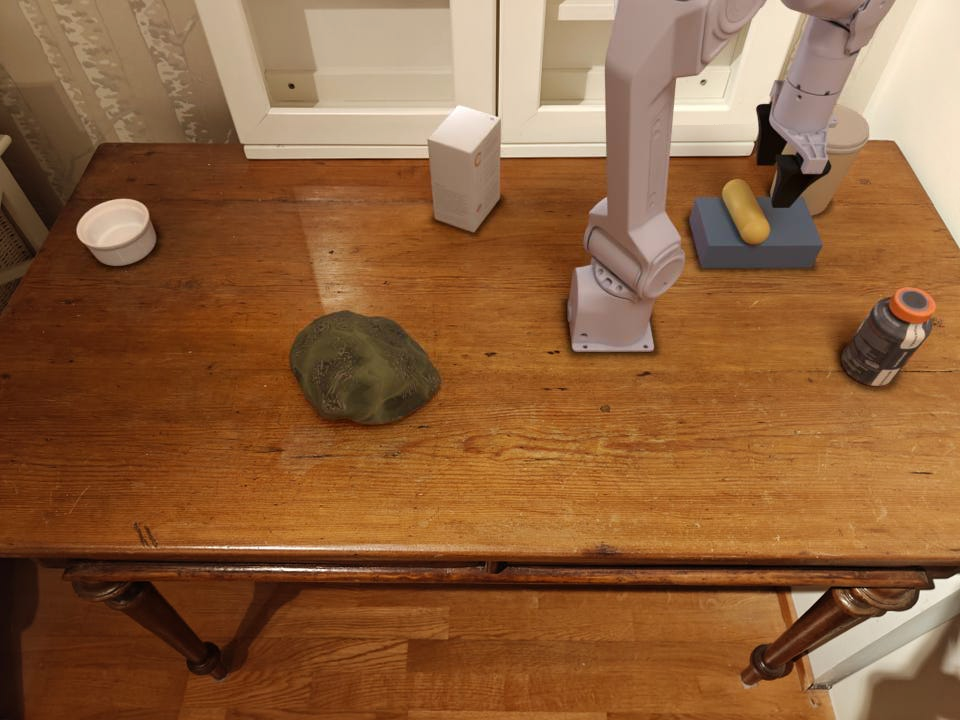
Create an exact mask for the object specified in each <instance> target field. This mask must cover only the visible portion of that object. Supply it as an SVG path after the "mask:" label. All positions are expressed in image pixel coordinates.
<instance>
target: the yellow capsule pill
mask: <svg viewBox="0 0 960 720" xmlns="http://www.w3.org/2000/svg"><path fill="white" fill-rule="evenodd" d="M721 197H723V200H724V202H725V204H726V206H727V208H728V210H729V212H730V214H731V216H732V219H733V221H734V223H735V225H736V227H737V229H738V231H739V233H740V235H741V237H742V239H743V240H744V241H745V242H746V243H748V244H752V245H756V244H760V243H762V242H764V241H765V240H766V239H767V238H768V236H769V233H770V226H769V223H768V221H767V219H766V217H765V216H764V214H763V212H762V210H761V208H760V206H759V204H758V202H757V200H756V198H755V197H756V196H755V194H754V192H753V191H752V189H751V187H750V185H749V184H748V182H746V181H745V180H743V179H741V178H735V179H731V180H729V181H728V182H726V184H725V185H724V186H723V188H722V191H721Z"/></svg>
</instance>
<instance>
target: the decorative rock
mask: <svg viewBox="0 0 960 720" xmlns="http://www.w3.org/2000/svg"><path fill="white" fill-rule="evenodd" d="M288 359H289V360H288V361H289V367H290V370H291V373H292V374H293V377H294V378H295V380H296V382H297V384H298V386H299V388H300V391H302V393H303V395H304V398H305V399H306V400H307V402H308V403H309V404H310V405H311V406H313V407H314V409H315V410H316V411H317V413H318V415H319V416H320V417H321V418H323V419H325V420H329V421H340V420H350V421H352V422H355V423H357V424H362V425H370V426H376V425H377V426H378V425H384V424H391V423H395V422H398V421H400V420H403V419H404V418H406V417H408V416H409V415H411V414H412V413H414V412H416V411H417V410H419V409H420V408H422V407H423V406H424V405H425V404H426V403H428V402H429V401H430V399H432V398H433V396H434V395H435V394H436V393H437V392H438V391H439V390H440V387H441V384H442V377H441V375H440V373H439V371H438V369H437V368H436V367H435V365H434V364H433V363H432V361H431V360H430V358H429V356H428V353H427V352H426V350H424V348H423V347H422V346H421V345H420V344H419V342H417V340H415V339H414V338H413V337H412V336H411V335H410V334H409V333H407V332H406V330H404V328H403V326H401V324H399V323H398V322H397V321H395V320H393V319H390V318H388V317H384V316H380V315H379V316H377V315H376V316H368V315H363V314H362V313H361V314H360V313H356V312H353V311H351V310H347V309H342V310H339V311H333V312H330V313H328V314H324V315H322V316H318V317H317V318H315V319H314V320H313V321H312V322H311V323H309V324H308V325H307V326H305V327H304V328H303V329H302V330H300V331H299V332H298V333H297V335H296V336H295V339H294V341H293V342H292V345H291V347H290V350H289V355H288Z"/></svg>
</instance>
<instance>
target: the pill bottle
mask: <svg viewBox="0 0 960 720" xmlns="http://www.w3.org/2000/svg"><path fill="white" fill-rule="evenodd" d="M936 309H937V303H936V302H935V300H934V298H933V297H932V295H930V294H929V293H927V292H926V291H924V290H922V289H920V288H917V287H913V286H905V287H901V288H899V289H897V290H896V291H895V292H894V294H893V295H892V296H888V297H884V298H881V299H880V300H878V301H877V302H875V304H874V305H873V306H872V308H871V309H870V311H869V312H868V313H867V315H866V316H865V318H863V321H862V322H861V324H860V326H858V328H857V330H856V332H855V333H854V335H853V336H852V337H851V339H850V341H849V342H848V344H847V345H846V347H845V348H844V350H843V351H842V353H841V358H840V360H841V364H842V367H843V369H844V371H845V372H846V373H847V374H848V376H850V377H851V378H853V379H854V380H855V381H857V382H858V383H862V384H864V385H867V386H871V387H879V386H885V385H888V384H891V382H893V380H894V379H895V378H896V377H897V376H898V375H899V373H900V372H901V371H902V369H904V367H905V366H906V364H907V363H908V362H909V361H910V359H912V357H913V356H914V354H915V353H916V352H917V350H918V349H920V347H921V346H922V345H923V344H924V343H925V341H926V339H927V338H928V337H929V336H930V334H931V332H932V330H933V319H932V316H933V314H934V313H935V312H936Z"/></svg>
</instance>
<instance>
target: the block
mask: <svg viewBox="0 0 960 720" xmlns="http://www.w3.org/2000/svg"><path fill="white" fill-rule="evenodd" d="M755 198H756V200H757V202H758V204H759V206H760V208H761V210H762V212H763V214H764V216H765V217H766V219H767V221H768V223H769V226H770V233H769V236H768V238H767V239H766V240H765V241H764V242H762V243H760V244H756V245H752V244H748V243H746V242H745V241H744V240H743V239H742V237H741V235H740V233H739V231H738V229H737V227H736V225H735V223H734V221H733V219H732V216H731V214H730V212H729V210H728V208H727V206H726V204H725V202H724V200H723V197H722V196H714V197H713V196H707V197H706V196H704V197H703V196H702V197H701V196H700V197H699V196H696V197H695V199H694V203H693V206H692V209H691V212H690V215H689V219H688V222H689V226H690V229H691V234H692V237H693V241H694V245H695V249H696V253H697V257H698V261H699V264H700V265H699V266H700V268H701V269H811V268H812V267H813V265H814V264H815V261H816V260H817V258H818V255H819V254H820V252H821V250H822V249H823V247H824V244H823V241H822V239H821V236H820V234H819V231H818V228H817V227H816V224H815V222H814V219H813V217H812V216H811V214H810V212H809V210H808V207H807V205H806V202H805V200H804V197H798V199H797V200H796V201H795V202H794V203H793V204H792V205H791V207H790V208H773V207H772V205H771V199H772V197H771V196H755Z"/></svg>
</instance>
